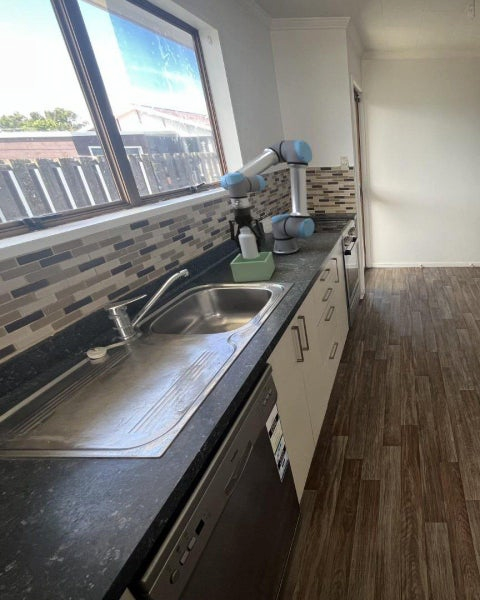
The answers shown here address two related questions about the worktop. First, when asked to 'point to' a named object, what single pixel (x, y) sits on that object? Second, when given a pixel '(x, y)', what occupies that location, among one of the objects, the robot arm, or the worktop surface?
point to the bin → (253, 267)
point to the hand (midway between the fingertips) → (250, 252)
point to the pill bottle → (248, 243)
